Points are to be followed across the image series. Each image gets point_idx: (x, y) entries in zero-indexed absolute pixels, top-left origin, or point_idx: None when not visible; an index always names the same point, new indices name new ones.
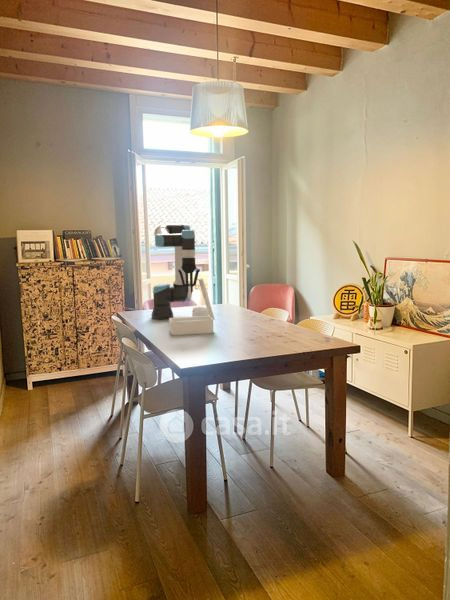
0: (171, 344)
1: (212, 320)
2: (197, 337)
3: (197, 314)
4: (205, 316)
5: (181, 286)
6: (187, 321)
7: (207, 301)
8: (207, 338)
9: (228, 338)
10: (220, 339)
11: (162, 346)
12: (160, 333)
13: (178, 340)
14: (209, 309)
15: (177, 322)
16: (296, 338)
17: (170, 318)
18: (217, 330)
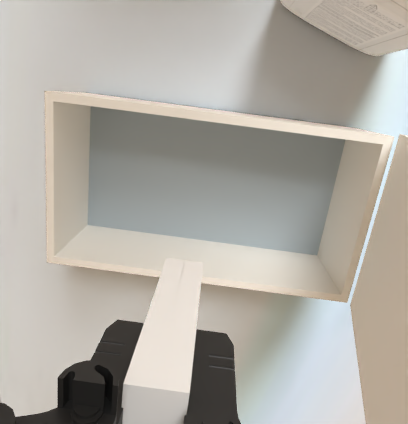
0: (56, 382)
1: (339, 298)
2: (203, 312)
3: (339, 1)
4: (360, 140)
5: None
6: (158, 276)
7: (381, 354)
8: (242, 348)
9: (335, 385)
10: (292, 387)
11: (15, 396)
12: (24, 136)
13: (98, 331)
14: (376, 282)
15: (88, 265)
16: None
17: (53, 119)
18: (379, 196)
